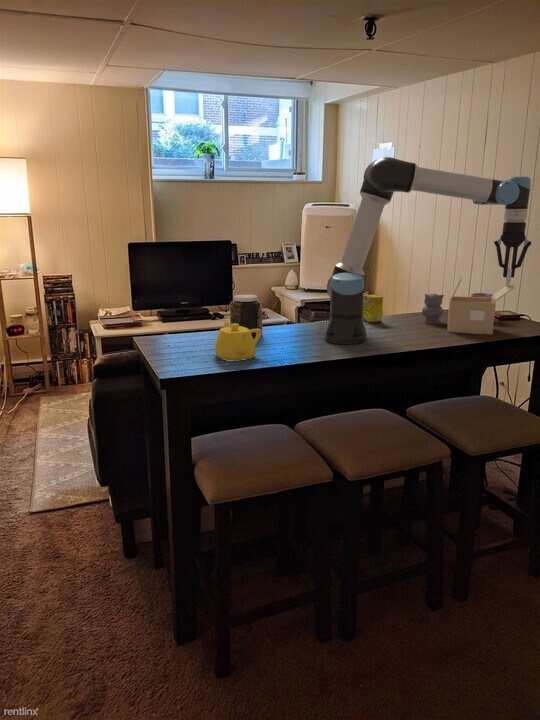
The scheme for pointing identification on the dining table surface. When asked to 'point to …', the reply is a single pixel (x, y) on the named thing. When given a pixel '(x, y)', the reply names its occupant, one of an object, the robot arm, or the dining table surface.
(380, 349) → the dining table surface
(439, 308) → the cat figurine
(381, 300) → the supplement box
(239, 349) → the teapot
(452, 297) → the flap
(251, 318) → the jar
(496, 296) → the flap
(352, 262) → the robot arm
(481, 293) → the mug
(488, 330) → the carton
